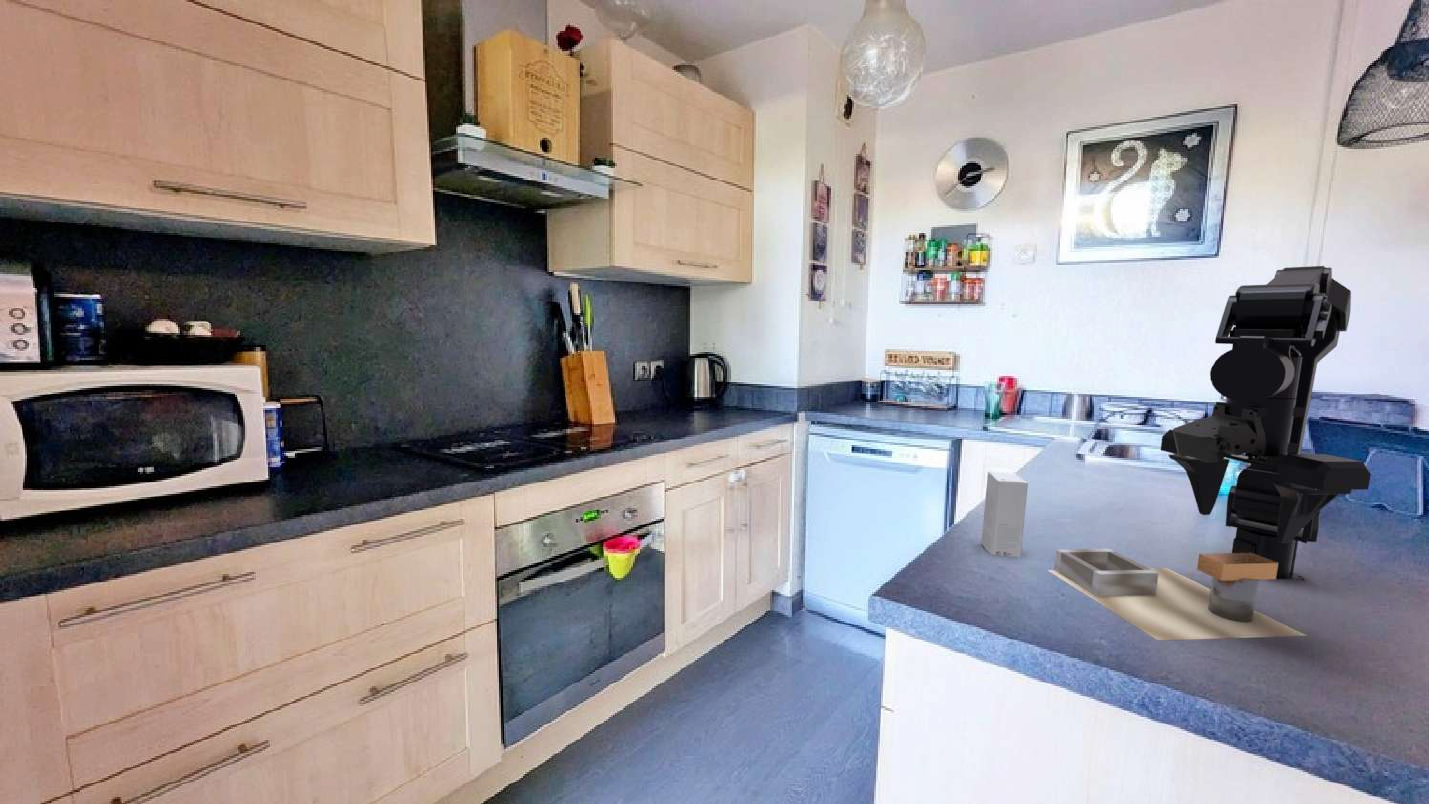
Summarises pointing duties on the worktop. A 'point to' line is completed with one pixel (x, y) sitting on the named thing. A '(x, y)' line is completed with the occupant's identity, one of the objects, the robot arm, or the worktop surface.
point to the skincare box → (1004, 514)
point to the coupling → (1235, 582)
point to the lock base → (1155, 598)
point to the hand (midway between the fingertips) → (1241, 527)
